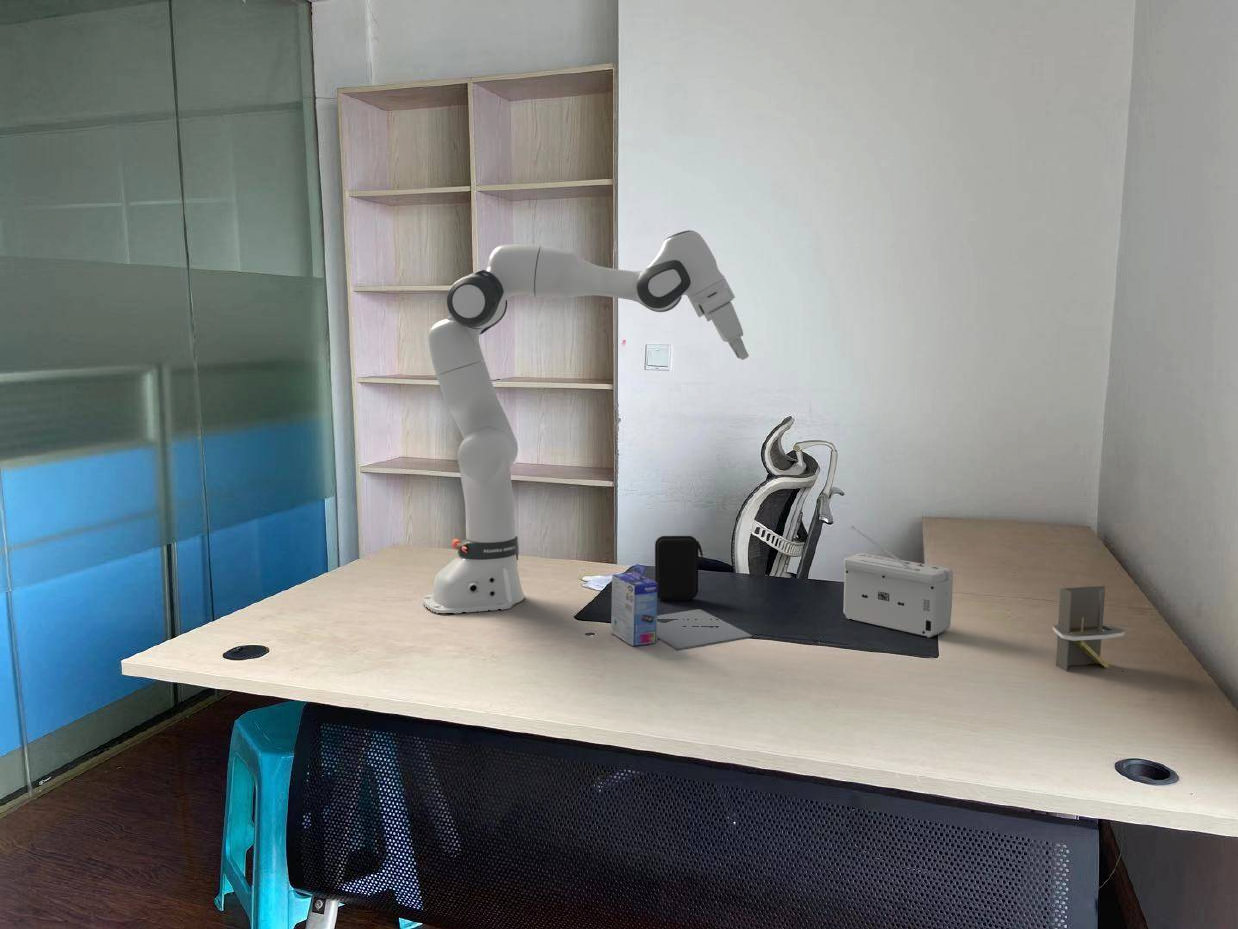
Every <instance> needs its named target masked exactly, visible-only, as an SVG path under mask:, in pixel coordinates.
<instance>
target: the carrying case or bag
mask: <svg viewBox="0 0 1238 929" xmlns="http://www.w3.org/2000/svg"><path fill="white" fill-rule="evenodd" d="M699 554H700V556H701V557H704V556H703V554H704V553H703V549H702V546H701V543H700V541H699V540H697V539H696V538H695V537H694V536H692V535H662V536H659V537H658V538H657V539H656V540H655V542H654V581H655V582H657V599H659V600H661V601H691V600H694V599H695V598H696V597H697V595H698V592H699Z"/></svg>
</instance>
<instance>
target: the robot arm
mask: <svg viewBox="0 0 1238 929" xmlns="http://www.w3.org/2000/svg"><path fill="white" fill-rule="evenodd" d="M658 250H659V251H658V252H657V253H656V255H655V256H654V258H653V260H652V261H651V262H650V263H649V264H648V265H647V266H646V267H645V268H644V269H643V270H639V271H633V270H632V271H631V270H625V269H618V268H613V267H612V268H611V267H610V268H609V267H605V266H601V265H597V264H594V263H591V262H589V261H588V260H585V259H584V258H582V257H580V256H579V255H577V254H575V253H572V252H570V251H566V250H564V249H561V248H559V247H558V248H557V247H553V246H547V245H542V244H541V245H538V244H526V243H523V244H522V243H521V244H520V243H517V244H515V243H514V244H501V245H498V246H497V247H495V248H494V249H492V252H491V253H490V255H489V258H488V260H487V267H486V270H485V269H479V270H477V271H475V272H472V273H471V274H468V275H466V276H463V277H462V278H460V279H458V280H456V281H455V282H454V283H453V284H452V285H451V286H450V288H449V289H448V292H447V296H446V306H447V310H448V313H449V316H447V318H444V319H441V320H439V321H437V322H436V323H435V324H434V325H432V326H431V328H430V329H429V331H428V336H427V340H428V347H429V353H430V358H431V362H432V366H433V370H434V373H435V376H436V378H437V382H438V384H439V387H440V390H441V393H442V397H443V399H444V402H445V405H446V408H447V411H448V412H449V413H450V415H451V417H452V418H453V419H454V422H455V424H456V425H457V428H458V429H459V432H460V434H461V436H462V438H463V440H462V441H461V443H460V445H459V447H458V450H457V464H458V467H459V474H460V481H461V482H460V483H461V487H462V493H463V499H464V507H465V509H464V510H465V512H464V513H465V538H464V539H462V541H461V540H459V539H457V538H454V539H453V540H452V541H451V543H450V544H451V547H452V548H453V549H455V550H457V554H458V556H456V557H455V558H453V560H451V562H449V563H448V564H447V565H446V566H445V567H443V568H442V569H441V570H440V571H438V572H437V574H436V575H435V578H434V579H433V580H434V581H433V586H432V593H430V594H427V595H425V596H424V597H423V599H422V604H423V603H424V605H425V606H424V605H423V606H424V607H425V608H426V607H427V608H428V609H430V610H431V611H430V610H429V611H430V612H432V611H433V612H432V613H434V612H436V613H435V614H438V613H454V614H463V613H462V612H466V613H476V612H477V611H478V612H487V611H488V610H490V611H499V610H498V609H501V610H508V609H511V608H512V607H513V606H514V605H515V604H518V603H520V602H522V601H523V600H524V599H525V594H524V591H523V587H522V584H521V578H520V572H519V567H518V566H519V564H518V560H519V554H520V553H519V551H520V549H519V546H520V545H519V540H518V539H519V538H518V536H517V533H516V532H517V531H516V530H517V529H516V528H517V526H516V501H515V498H514V492H513V485H512V476H511V466H512V465H513V464H514V463H515V461H516V459H517V457H518V452H519V447H518V442H517V439H516V437H515V434H514V432H513V430H512V427H511V425H510V422H509V419H508V417H507V416H506V415H507V414H506V413H505V411H504V409H503V406H502V404H501V402H500V400H499V398H498V396H497V394H496V393H497V392H496V390H495V386H494V384H493V381H492V377H491V375H490V373H489V370H488V369H489V368H488V366H487V364H486V361H485V358H484V354H483V352H482V351H483V350H482V348H481V345H480V336H481V335H483V334H484V333H485V332H487V331H488V330H490V329H491V328H493V327H495V326H496V325H497V324H498V323H499V322H500V321H501V320H502V319H503V317H504V316H505V314H506V312H507V309H508V299H510V298H512V297H515V296H517V297H518V296H520V297H521V296H523V297H524V296H525V297H532V298H538V299H552V300H553V299H554V300H555V299H556V300H557V299H571V298H572V299H573V298H577V297H585V296H601V297H610V298H616V299H623V300H630V301H633V302H637V303H638V304H641V305H642V306H643V307H645V308H646V309H648V310H650V311H653V312H656V313H665V312H669V311H671V310H673V309H674V308H675V307H677V306H678V305H679V303H680V302H681V300H682V298H683V296H686V297H687V298H688V299H689V301H690V305H692V308H693V309H694V312H696V315H697V317H698V318H701V317H705V319H706V322H711V321H712V323H713V325H714V327H715V329H716V331H717V334H718V335H719V337H720V338H721V340H722V341H723V342H725V343H728V345H729V347H730V348H731V350H732V351H733V353H734V354H735V357H736V358H737V359H740V360H745V359H747V358H749V356H750V355H749V353H748V351H747V349H746V347H745V344H744V342H743V340H742V338H741V337H743V336H744V331H743V327H742V324H741V322H740V320H739V316H738V314H737V312H736V309H735V307H734V305H733V303H732V301H733V300H734V299H735V298H736V296H735V294H734V292H733V290H732V288H731V287H730V285H729V282H728V281H727V279H726V277H725V276H724V274H723V273H722V272H721V271H720V269H719V268H718V264H717V260H716V258H715V256H714V255H713V253H712V250H711V248H710V247H709V246H708V244H707V242H706V241H705V239H704V238H703V237H702V235H701V234H700V233H698V232H697V231H695V230H690V229H689V230H684V231H680V232H677V233H674V234H673V235H671V236H668V237H666V238H665V239H664V240H663V242H662V245H661V247H660V249H658ZM427 608H426V609H427ZM428 609H427V610H428Z"/></svg>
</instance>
